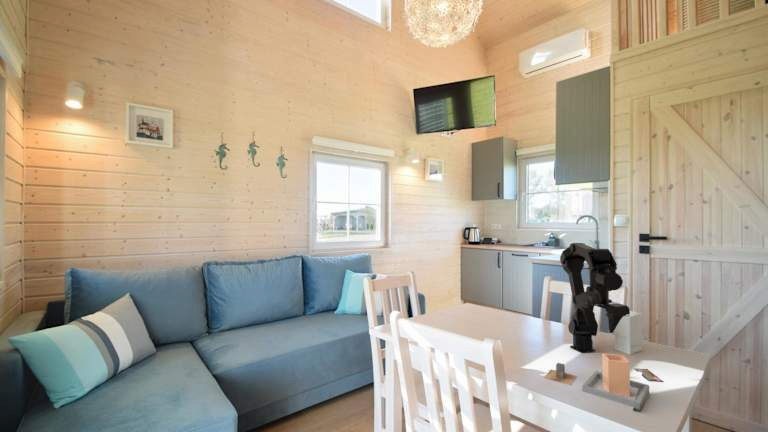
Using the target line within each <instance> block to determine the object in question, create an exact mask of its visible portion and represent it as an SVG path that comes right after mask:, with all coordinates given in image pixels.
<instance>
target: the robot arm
mask: <svg viewBox="0 0 768 432" xmlns="http://www.w3.org/2000/svg"><path fill="white" fill-rule="evenodd" d="M559 261H560V264H561V267H562V269H563V271H565V273H566V274H567V275H568V279H569V285H570V290H571V296H572V304H573V307H574V310H573V312H572V314H571V320H570V322H569V323H568V326H567V327H568V332H569V333H570V334H571V335H572V345H569V348H571V349H573V350H575V351H578V352H579V353H581V354H585V353H594V352H596V349H594V345H593V337H597V334H598V330H599V329H598V327H599V324H598V322H597V319H596V315H595V312H594V309H595V307H598V308H601V309H605V312H606V313H605V316H606V317H607V318H608V332H609V333H610V334H613V333H615V328H616V326H617V325H618V323H619V321H620V320H621V319H622V317H623V316H626V315H628V314H630V311H631V310H630V307H629V306H628V305H626V304H622V303H618V302H617V303H613V302H612V299H610V293H609V292H612V291H617V290H619V289H621V287H622V286H623V278H622V276H621V275H620V274H619V273H617V270H618V264H617V261H616V260H615V258H614V256H613V254H612V252H611V250H610V249H609V248H594V247H592V246H590V245H587V244H586V243H583V242H572V243H570V244H569V246H568V247H567V248H565V249H564V250H562V252H561V254H560V257H559ZM585 262H586V263H587V265H588V267H587V269H588V270H589V274H588V275H589V286H588V285H587V286H586V290H585V286H584V282H583V281H584V280H583V276H582V271H583V269H584V267H585Z"/></svg>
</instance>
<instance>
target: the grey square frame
mask: <svg viewBox="0 0 768 432" xmlns="http://www.w3.org/2000/svg"><path fill="white" fill-rule="evenodd" d="M598 379H601V380H602V372H600V371H597V370H595V371H594V373H592V374H591V376H589V378H588V379H587V380H586V381H585V382H584V383H583V385H581V391H582V392H584V393H586V394H590V395H594V396H597V397H600V398H602V399H606V400H609V401H613V402H617V403H619V404H622V405H625V406H628V407H632V411H635V412H636V413H641V411H642V409H643V407H644V405H645V404H646V401H647V400H648V398H649V395H650V385H649V384H646V383H642V382H639V381H635V380H632V379H630V388H634V389H637V393H636V396H635V399H632V398H629V397H627V396H620V395H616V394H612V393H609V392H607V391H606V390H601V389H599V388H595V387H593V385H594V384H595V383H596V381H597V380H598Z"/></svg>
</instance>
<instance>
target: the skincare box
mask: <svg viewBox="0 0 768 432" xmlns="http://www.w3.org/2000/svg"><path fill="white" fill-rule="evenodd" d="M642 320H643V314H642V313H641V312H638V311H633V310H630V314H628V315H626V316H623V317H622V319H621V320H620V321H619V323H618V325H617V326H616V328H615V330H614V350H616V351H617V352H621V353H624V354H627V355H632V354H636V353H639V352H641V351H643V321H642Z"/></svg>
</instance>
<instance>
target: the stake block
mask: <svg viewBox="0 0 768 432" xmlns="http://www.w3.org/2000/svg"><path fill="white" fill-rule="evenodd" d="M565 367H566V366H565V364H564V363H559V362H557V363H556V364H555V370H554V369H549V371H548V372H547V373H546V375H545V376H544V377H543V378H544V379H545V380H546V379H547V380H550V381H553V382H557V383H562V384H565V385H569V386H572V384H573V383H574V382H575V380H576V379H577V376H578V375H576V374H575V375H574V374H572V373H571V374H570V373H566V372H565V370H566V369H565Z"/></svg>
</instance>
